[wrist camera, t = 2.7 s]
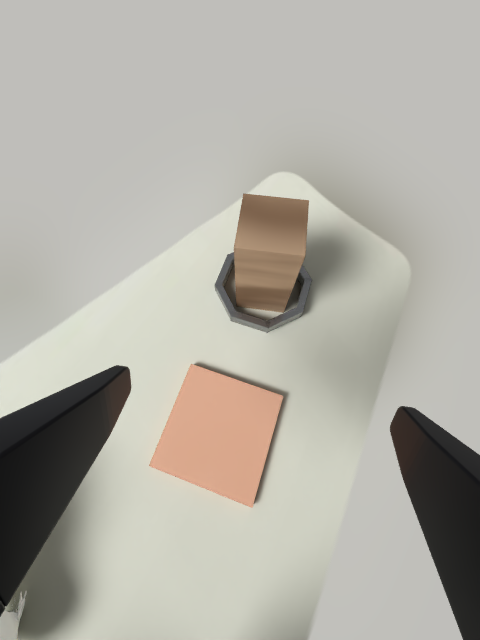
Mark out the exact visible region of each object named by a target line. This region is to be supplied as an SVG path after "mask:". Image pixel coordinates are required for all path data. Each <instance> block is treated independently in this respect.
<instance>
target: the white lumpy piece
mask: <svg viewBox="0 0 480 640" xmlns="http://www.w3.org/2000/svg"><path fill="white" fill-rule="evenodd" d="M25 596H26V591H25V594H24V597H23V596H22V592H21V594H20V600H19V603H18V613H17V610H16V613H15V612H14V609H13V611H12V612H7V611H6V610H4V612H3V613H2V615H1V617H0V640H18V626H19V622H20V618H21V615H22V612H23V609H24V606H23V605H25V602H24V601H25ZM22 597H23V599H22ZM14 600H15V599H14ZM14 603H15V601H14ZM11 604H12V603H11ZM22 608H23V609H22Z"/></svg>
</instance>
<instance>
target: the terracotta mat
mask: <svg viewBox="0 0 480 640" xmlns="http://www.w3.org/2000/svg"><path fill="white" fill-rule="evenodd" d="M282 399H283V396H282V395H279V394H276V393H273V392H270V391H268V390H265V389H262V388H259V387H256V386H253V385H250V384H248V383H245V382H242V381H239V380H236V379H233V378H230V377H227V376H225V375H222V374H219V373H216V372H213V371H210V370H207V369H205V368H202V367H199V366H196V365H193V364H191V365H190V367H189V370H188V372H187V375H186V377H185V379H184V382H183V384H182V387H181V389H180V392H179V394H178V396H177V399H176V401H175V404H174V406H173V409H172V411H171V413H170V416H169V418H168V421H167V423H166V426H165V428H164V430H163V433H162V435H161V438H160V440H159V443H158V445H157V447H156V450H155V452H154V455H153V457H152V459H151V462H150V464H149V466H151V467H153V468H156V469H158V470H160V471H163V472H165V473H168V474H170V475H173V476H175V477H178V478H180V479H183V480H185V481H188V482H190V483H192V484H195V485H197V486H200V487H202V488H205V489H207V490H210V491H212V492H215V493H217V494H220V495H222V496H224V497H227V498H229V499H232V500H234V501H237V502H239V503H242V504H244V505H247V506H249V507H253V504H254V500H255V496H256V493H257V489H258V486H259V482H260V478H261V475H262V471H263V468H264V464H265V460H266V457H267V453H268V450H269V446H270V442H271V439H272V435H273V431H274V428H275V424H276V421H277V417H278V413H279V410H280V406H281V403H282Z"/></svg>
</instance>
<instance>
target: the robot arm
mask: <svg viewBox="0 0 480 640" xmlns="http://www.w3.org/2000/svg"><path fill="white" fill-rule="evenodd" d="M130 391H131V378H130V370H129V368H128V367H126V366H119V365H116V366H114V367H111V368H109V369H107V370H105V371H103V372H100V373H98V374H96V375H94V376H92V377H90V378H87V379H85V380H83V381H81V382H79V383H76V384H74V385H72V386H70V387H68V388H65V389H63V390H61V391H59V392H57V393H54V394H52V395H50V396H48V397H46V398H44V399H41V400H39V401H37V402H35V403H33V404H30V405H28V406H26V407H24V408H22V409H19V410H17V411H15V412H13V413H11V414H8V415H6V416H4V417H2V418H0V617H1V615H2V613H3V612H4V610H5V606H7V605H8V603H9V601H10V600H11V598H12V596H13V595H14V593H15V592H16V590H17V588H18V587H19V585H20V583H21V582H22V580H23V578H24V577H25V575H26V573H27V572H28V570H29V568H30V567H31V565H32V563H33V562H34V560H35V558H36V557H37V555H38V553H39V552H40V550H41V548H42V547H43V545H44V543H45V542H46V540H47V539H48V537H49V535H50V534H51V532H52V530H53V529H54V527H55V525H56V524H57V522H58V520H59V519H60V517H61V515H62V514H63V512H64V510H65V509H66V507H67V505H68V504H69V502H70V500H71V499H72V497H73V495H74V494H75V492H76V490H77V489H78V487H79V486H80V484H81V482H82V481H83V479H84V477H85V476H86V474H87V472H88V471H89V469H90V467H91V466H92V464H93V462H94V461H95V459H96V457H97V456H98V454H99V452H100V451H101V449H102V447H103V446H104V444H105V442H106V441H107V439H108V437H109V436H110V434H111V432H112V430H113V428H114V426H115V424H116V422H117V420H118V417H119V415H120V413H121V411H122V409H123V407H124V405H125V402H126V400H127V398H128V396H129V394H130ZM390 432H391V436H392V440H393V444H394V447H395V451H396V455H397V459H398V463H399V466H400V470H401V474H402V477H403V480H404V483H405V486H406V488H407V491H408V494H409V496H410V499H411V502H412V504H413V507H414V510H415V513H416V515H417V518H418V520H419V523H420V526H421V528H422V531H423V534H424V536H425V539H426V542H427V544H428V547H429V550H430V552H431V555H432V558H433V560H434V563H435V566H436V568H437V571H438V574H439V576H440V579H441V582H442V584H443V587H444V590H445V592H446V595H447V598H448V600H449V603H450V606H451V608H452V611H453V614H454V616H455V619H456V621H457V624H458V627H459V629H460V632H461V635H462V638H463V640H480V455H479V454H477V453H476V452H474V451H473V450H472V449H470V448H469V447H467V446H466V445H465V444H463V443H462V442H461V441H459V440H458V439H457V438H455V437H454V436H452V435H451V434H450V433H448V432H447V431H445V430H444V429H443V428H441V427H440V426H439V425H437V424H436V423H434V422H433V421H432V420H430V419H429V418H427V417H426V416H425V415H423V414H422V413H420V412H419V411H418V410H416V409H415V408H412V407H405V406H401V407H399V408H398V410H397V412H396V414H395V416H394V418H393V420H392V422H391V425H390Z"/></svg>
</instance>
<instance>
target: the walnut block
mask: <svg viewBox="0 0 480 640" xmlns="http://www.w3.org/2000/svg"><path fill="white" fill-rule="evenodd" d="M308 206H309V200H300V199H290V198H280V197H271V196H261V195H252V194H243V199H242V205H241V211H240V216H239V222H238V227H237V233H236V239H235V244H234V262H235V286H236V307H244V308H252V309H260V310H268V311H276V312H283V313H284V310H285V308H286V305H287V302H288V300H289V297H290V295H291V292H292V289H293V287H294V284H295V282H296V279H297V276H298V274H299V271H300V268H301V266H302V263H303V261H304V258H305V253H306V237H307V222H308Z"/></svg>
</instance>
